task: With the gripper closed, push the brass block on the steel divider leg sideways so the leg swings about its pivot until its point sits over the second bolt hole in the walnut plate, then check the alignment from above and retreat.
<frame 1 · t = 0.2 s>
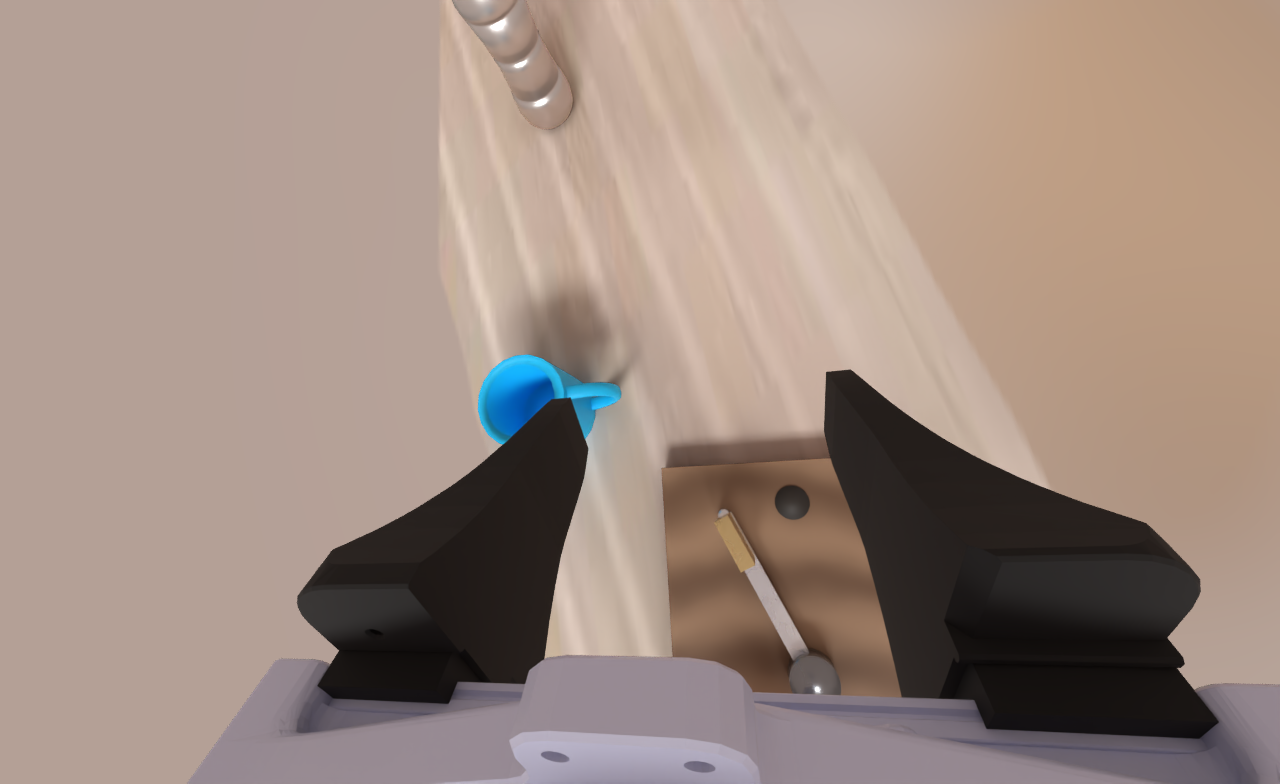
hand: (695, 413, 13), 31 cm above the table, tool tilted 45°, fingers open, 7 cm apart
plastic bottle: (553, 114, 55), on the table
hole plate: (786, 579, 39), on the table
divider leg: (771, 605, 35), point 5 cm above the table, hinge at 25.0°
mug: (576, 410, 47), on the table
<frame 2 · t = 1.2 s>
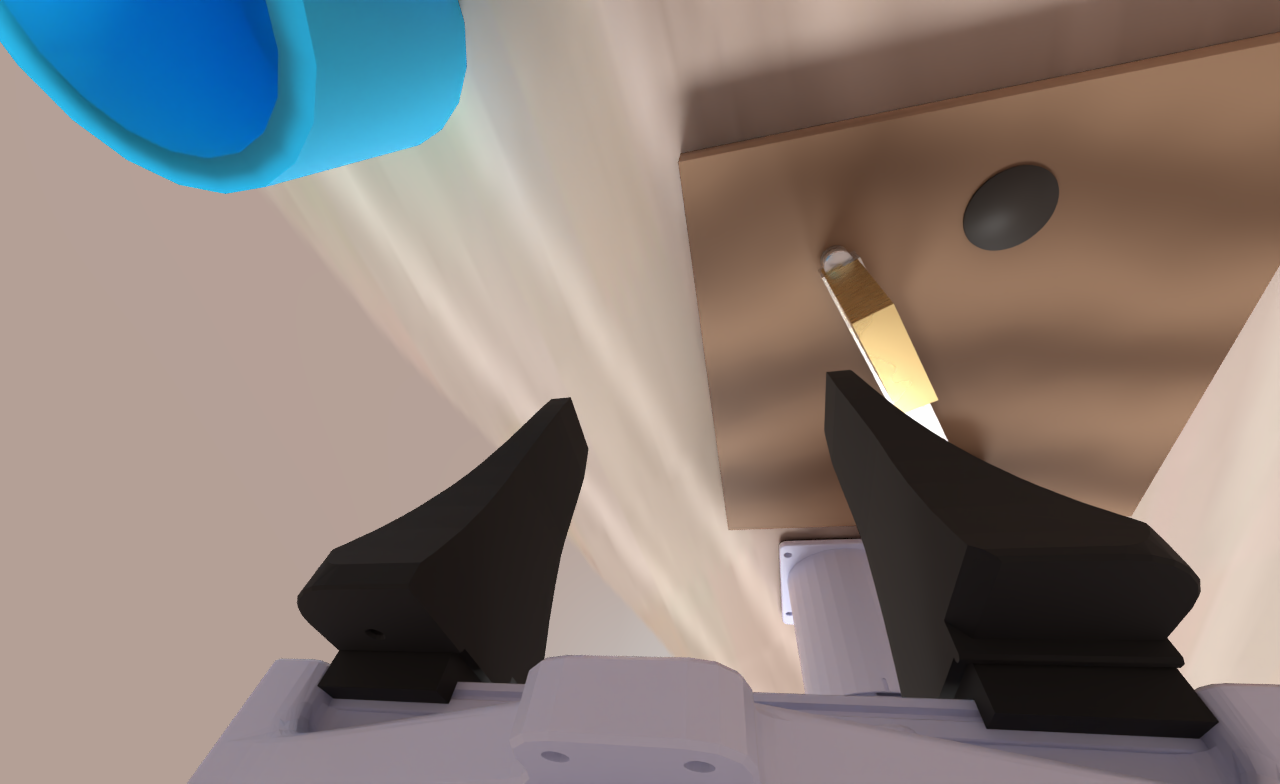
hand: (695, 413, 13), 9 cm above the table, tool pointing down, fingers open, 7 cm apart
hole plate: (926, 347, 21), on the table
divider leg: (924, 429, 18), point 5 cm above the table, hinge at 25.0°
mug: (402, 2, 16), on the table
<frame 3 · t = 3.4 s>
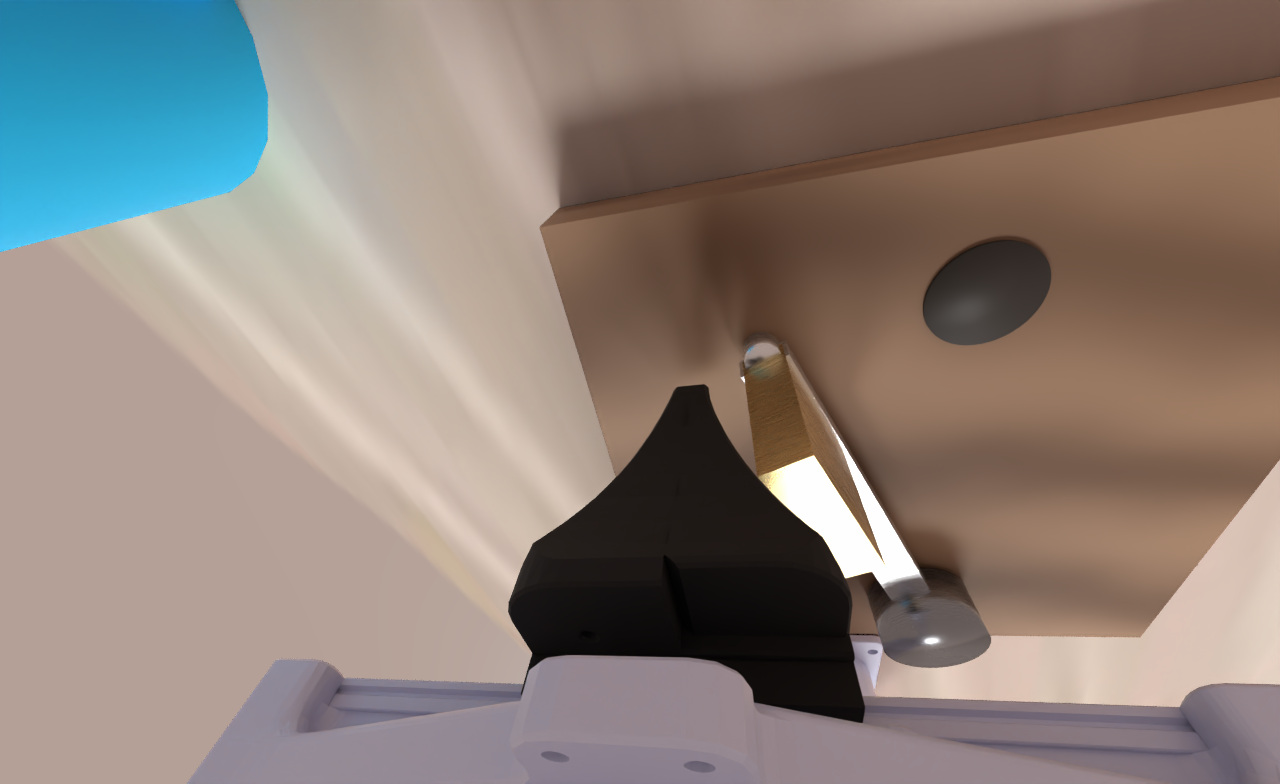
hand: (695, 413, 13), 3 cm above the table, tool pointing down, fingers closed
hole plate: (888, 439, 17), on the table
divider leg: (879, 563, 14), point 5 cm above the table, hinge at 24.4°, touching gripper
mug: (170, 9, 12), on the table
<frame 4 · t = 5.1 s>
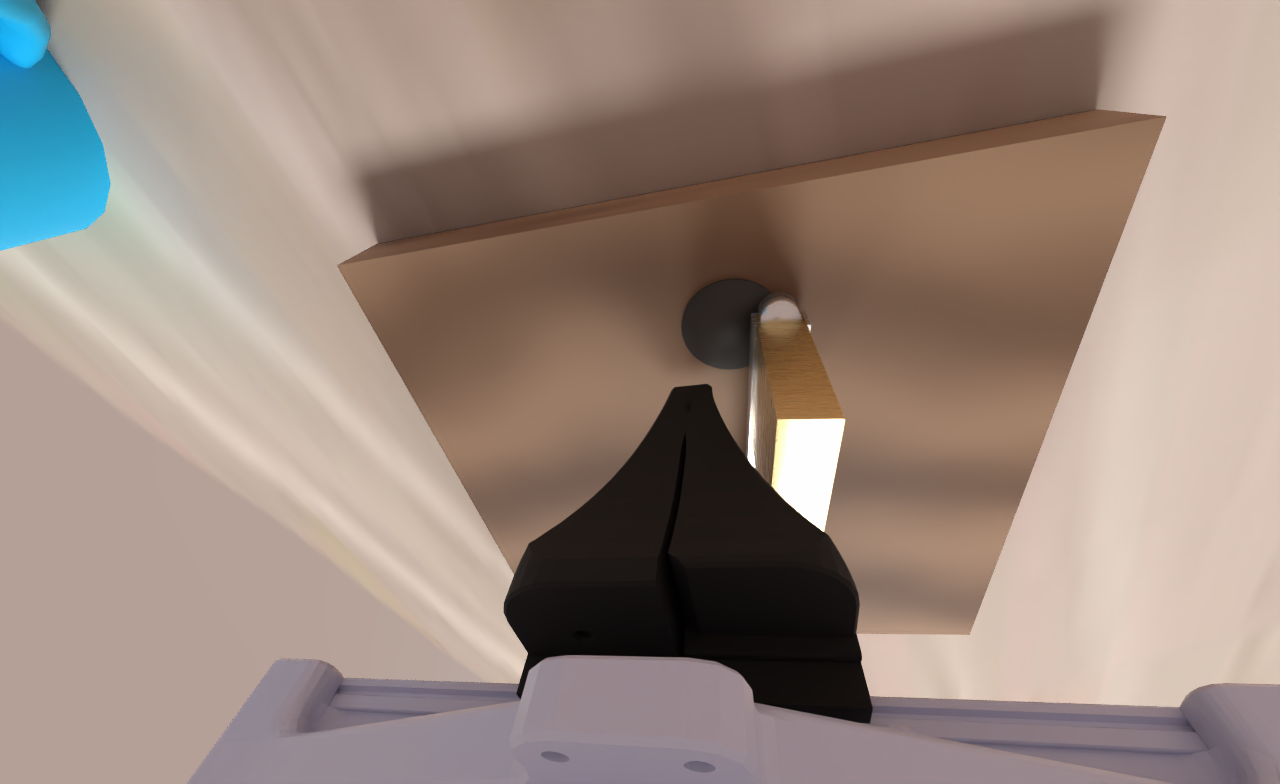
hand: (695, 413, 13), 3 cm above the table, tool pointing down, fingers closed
hole plate: (716, 451, 18), on the table
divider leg: (771, 555, 15), point 5 cm above the table, hinge at -5.3°, touching gripper
mug: (6, 70, 13), on the table
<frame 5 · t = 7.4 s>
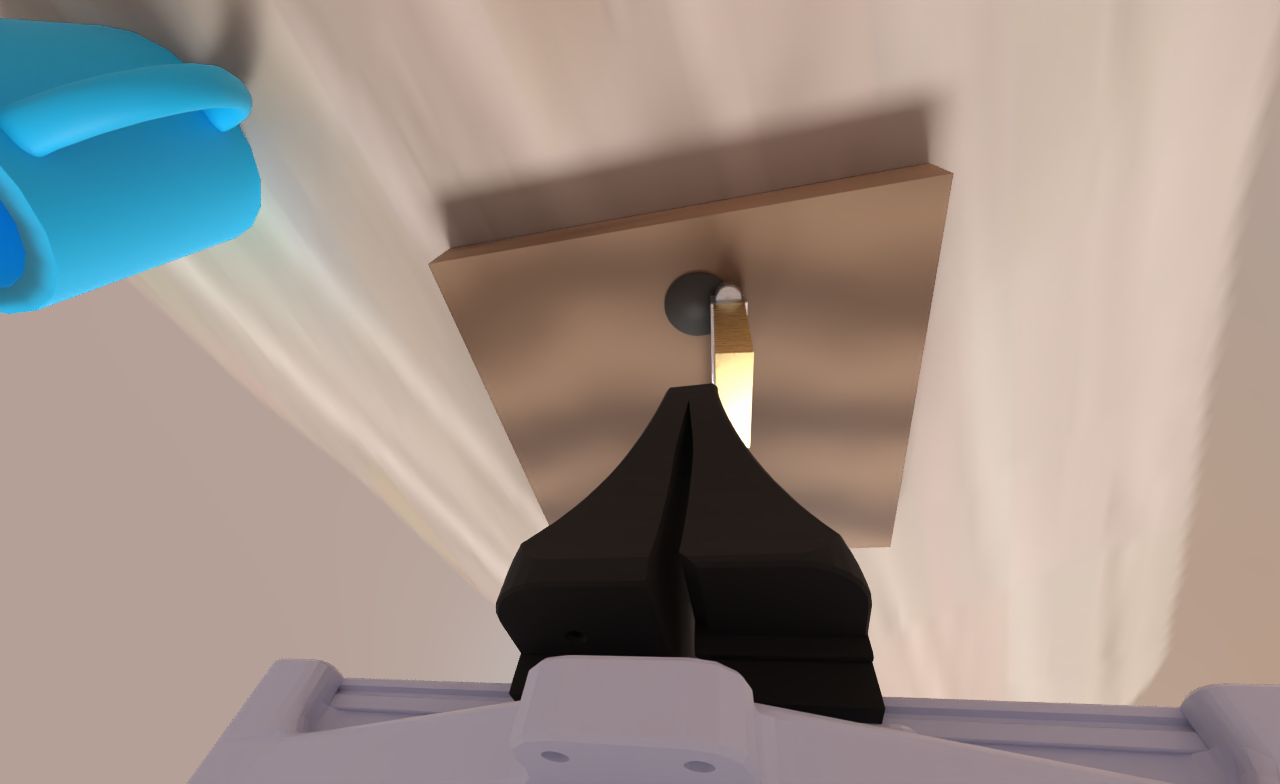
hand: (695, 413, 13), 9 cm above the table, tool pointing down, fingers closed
hole plate: (694, 403, 25), on the table
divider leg: (729, 468, 21), point 5 cm above the table, hinge at -5.3°
mug: (199, 130, 20), on the table
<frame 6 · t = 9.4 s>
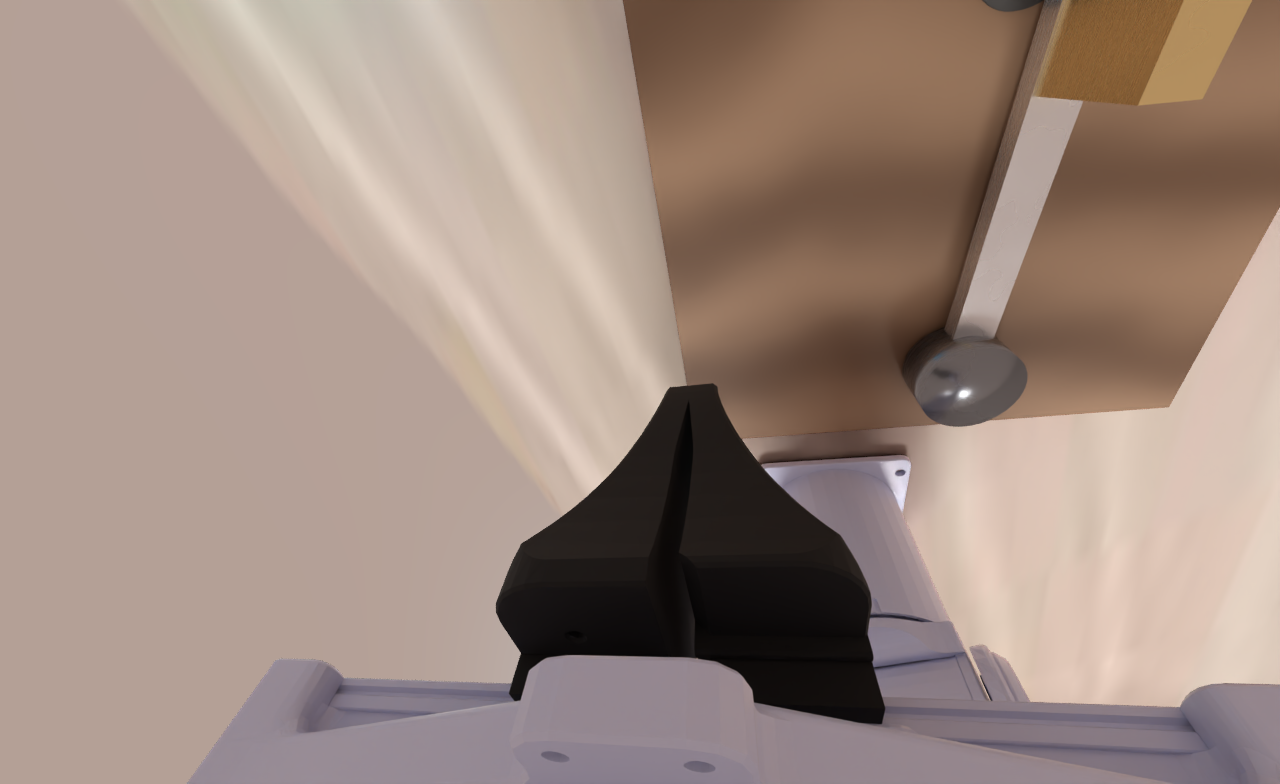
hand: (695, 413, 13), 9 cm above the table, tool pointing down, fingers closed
hole plate: (925, 191, 18), on the table
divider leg: (1041, 230, 14), point 5 cm above the table, hinge at -5.3°
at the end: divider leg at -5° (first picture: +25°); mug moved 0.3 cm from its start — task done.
